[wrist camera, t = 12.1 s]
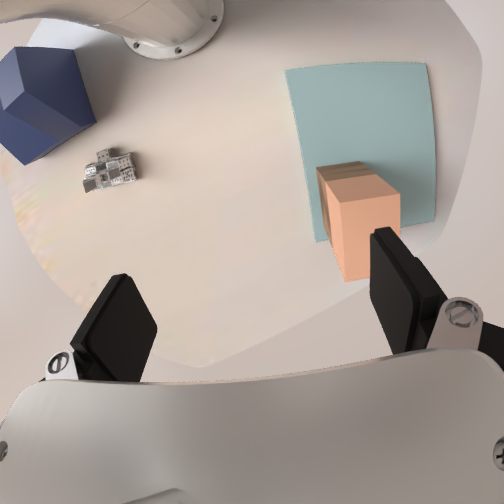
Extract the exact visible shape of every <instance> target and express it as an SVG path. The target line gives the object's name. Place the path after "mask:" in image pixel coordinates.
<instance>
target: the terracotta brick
mask: <svg viewBox="0 0 504 504" xmlns="http://www.w3.org/2000/svg"><path fill="white" fill-rule="evenodd" d="M325 184H326V192H327V200H328V208H329V216H330V225H331V235H332V245H333V252H334V254H335V257H336V259H337V262H338V264H339V267H340V269H341V272H342V275H343V277H344V280H345V282H349V281H354V280H359V279H365V278H370V234H371V233H374V230H375V229H377V228H383V227H388V226H390V227H391V228H392V230H393V231H394V232H395V233H396V234H397V236H398V237H399V238H400V193H399V192H397V191H396V190H395V189H394V188H393V187H391V186H390V185H389V184H388V183H387V182H385V181H384V180H383V179H382V178H380V177H379V176H378V175H376V174H374V175H366V176H359V177H352V178H346V179H339V180H332V181H326V182H325Z"/></svg>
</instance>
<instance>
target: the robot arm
mask: <svg viewBox="0 0 504 504" xmlns="http://www.w3.org/2000/svg"><path fill="white" fill-rule="evenodd" d="M223 15H224V2H223V0H0V24H2V23H7V22H12V21H17V20H23V19H32V18H49V19H58V20H64V21H70V22H74V23H78V24H82V25H86V26H90V27H94V28H97V29H101V30H104V31H108V32H111V33H114V34H117V35H121V36H123V39H124V41H125V42H126V44H127V45H128V47H130V48H131V49H132V50H133V51H134V52H135V53H137V54H139V55H140V56H143V57H146V58H149V59H154V60H171V59H177V58H180V57H184V56H186V55H188V54H191V53H193V52H195V51H196V50H198V49H199V48H201V47H202V46H204V45H205V44H206V43H207V42H208V41H209V40H210V39H211V38H212V37H213V35H214V34H215V33H216V32H217V30H218V28H219V26H220V24H221V22H222V18H223ZM213 19H217V21H216V22H213ZM139 44H140V45H139ZM138 45H139V47H137V46H138ZM179 50H182V52H181V53H179V52H178V51H179ZM370 298H371V301H372V304H373V306H374V308H375V311H376V313H377V316H378V318H379V320H380V323H381V325H382V328H383V330H384V333H385V335H386V338H387V340H388V343H389V345H390V348H391V350H392V353H393V355H390V356H385V357H380V358H376V359H371V360H366V361H362V362H356V363H351V364H346V365H340V366H335V367H329V368H323V369H317V370H311V371H304V372H297V373H290V374H282V375H275V376H266V377H255V378H245V379H233V380H219V381H201V382H146V383H145V382H140V379H141V376H142V373H143V371H144V368H145V365H146V362H147V359H148V356H149V353H150V350H151V348H152V345H153V342H154V339H155V337H156V334H157V325H156V323H155V321H154V319H153V317H152V315H151V314H150V312H149V310H148V308H147V306H146V304H145V302H144V300H143V299H142V297H141V295H140V293H139V291H138V289H137V287H136V285H135V283H134V281H133V279H132V278H131V277H130V276H128V275H127V274H125V273H124V274H119V275H113V276H112V277H111V279H110V280H109V282H108V283H107V285H106V286H105V288H104V289H103V291H102V292H101V294H100V295H99V297H98V298H97V300H96V301H95V303H94V304H93V306H92V308H91V309H90V311H89V312H88V314H87V316H86V318H85V319H84V320H83V322H82V324H81V325H80V327H79V329H78V330H77V332H76V334H75V336H74V337H73V339H72V341H71V342H70V345H71V346H72V347H73V349H74V350H75V351H74V352H73V353H72V352H71V351H70V350H67V349H63V350H60V351H58V352H56V353H55V354H53V355H52V356H51V358H50V359H49V360H48V362H47V363H46V366H45V378H43V379H42V380H41V381H39V382H38V383H34V384H32V385H30V386H28V387H26V388H24V389H23V390H22V391H21V392H20V394H19V395H18V397H17V398H16V400H15V401H14V403H13V405H12V407H11V409H10V410H9V412H8V414H7V416H6V418H5V419H4V421H3V422H2V423H1V424H0V504H504V328H501V327H498V326H495V325H493V324H490V323H487V322H484V321H483V312H482V310H481V308H480V307H479V306H478V304H476V303H475V302H474V301H472V300H470V299H467V298H462V297H455V298H451V299H448V298H447V296H446V295H445V294H444V292H443V291H442V290H441V288H440V287H439V285H438V284H437V282H436V281H435V280H434V278H433V277H432V276H431V274H430V273H429V271H428V270H427V269H426V267H425V266H424V265H423V263H422V262H421V261H420V260H419V259H418V258H417V257H414V256H413V255H412V253H411V252H410V251H409V249H408V248H407V247H406V246H405V244H404V243H403V242H402V241H401V239H400V238H399V237H398V236H397V234H396V233H395V232H394V231H393V230H392V228H391V227H390V226H388V227H383V228H377V229H375V230H374V233H371V234H370Z"/></svg>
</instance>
